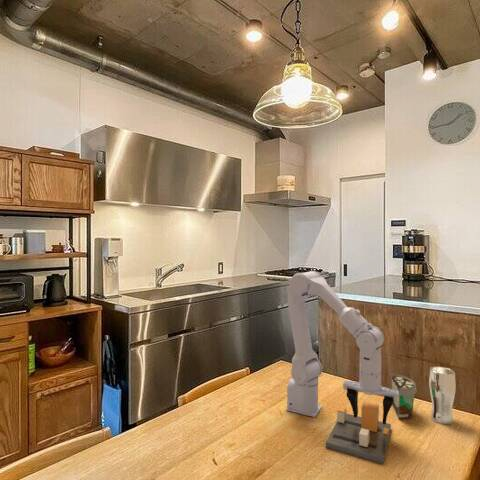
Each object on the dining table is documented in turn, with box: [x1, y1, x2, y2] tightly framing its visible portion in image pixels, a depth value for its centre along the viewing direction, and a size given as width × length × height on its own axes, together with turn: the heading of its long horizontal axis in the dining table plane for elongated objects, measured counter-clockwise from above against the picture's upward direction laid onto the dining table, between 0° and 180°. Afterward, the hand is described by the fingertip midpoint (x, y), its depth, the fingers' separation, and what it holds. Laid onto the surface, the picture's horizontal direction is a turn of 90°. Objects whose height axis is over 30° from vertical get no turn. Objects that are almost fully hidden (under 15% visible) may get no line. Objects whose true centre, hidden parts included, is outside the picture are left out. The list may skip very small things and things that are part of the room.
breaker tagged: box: [336, 405, 347, 423], centre depth 104 cm, size 2×3×3 cm, turn 151°
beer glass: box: [428, 366, 457, 426], centre depth 108 cm, size 7×7×15 cm
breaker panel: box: [325, 413, 392, 465], centre depth 98 cm, size 14×18×2 cm
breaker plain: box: [359, 428, 369, 447], centre depth 92 cm, size 2×3×3 cm, turn 151°
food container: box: [390, 373, 418, 421], centre depth 112 cm, size 12×6×10 cm, turn 168°
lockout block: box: [360, 401, 380, 432], centre depth 100 cm, size 4×4×6 cm
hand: (369, 419), depth 100 cm, fingers open, 7 cm apart
